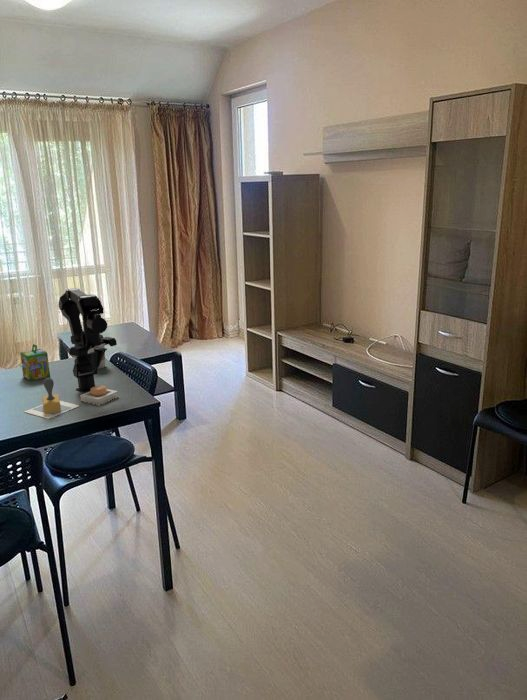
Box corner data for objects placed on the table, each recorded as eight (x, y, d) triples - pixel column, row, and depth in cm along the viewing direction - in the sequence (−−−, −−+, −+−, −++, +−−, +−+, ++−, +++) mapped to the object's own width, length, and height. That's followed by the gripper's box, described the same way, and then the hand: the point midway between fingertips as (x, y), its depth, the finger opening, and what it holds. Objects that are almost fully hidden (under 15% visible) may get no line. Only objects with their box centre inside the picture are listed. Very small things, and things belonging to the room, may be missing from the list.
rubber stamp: (43, 405, 206) (39, 375, 203) (59, 402, 208) (55, 373, 205) (44, 414, 197) (39, 383, 194) (60, 411, 199) (56, 380, 196)
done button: (110, 392, 212) (109, 387, 211) (98, 397, 207) (97, 391, 206) (99, 390, 215) (99, 384, 214) (87, 395, 210) (87, 389, 209)
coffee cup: (85, 367, 253) (82, 336, 249) (102, 363, 259) (98, 333, 255) (94, 370, 247) (90, 339, 243) (110, 366, 253) (107, 335, 249)
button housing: (118, 397, 213) (117, 391, 212) (98, 405, 205) (98, 399, 204) (100, 393, 218) (99, 387, 217) (81, 401, 210) (80, 395, 209)
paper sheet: (79, 406, 205) (79, 405, 204) (48, 419, 193) (48, 418, 193) (55, 400, 212) (55, 399, 212) (24, 412, 200) (24, 411, 200)
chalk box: (22, 377, 242) (18, 345, 238) (43, 372, 248) (38, 341, 244) (30, 381, 235) (25, 349, 231) (51, 376, 241) (46, 344, 237)
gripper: (95, 321, 215) (100, 358, 220) (56, 331, 200) (62, 371, 204) (115, 324, 210) (119, 362, 214) (77, 334, 194) (82, 375, 199)
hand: (96, 367), depth 208 cm, fingers closed
